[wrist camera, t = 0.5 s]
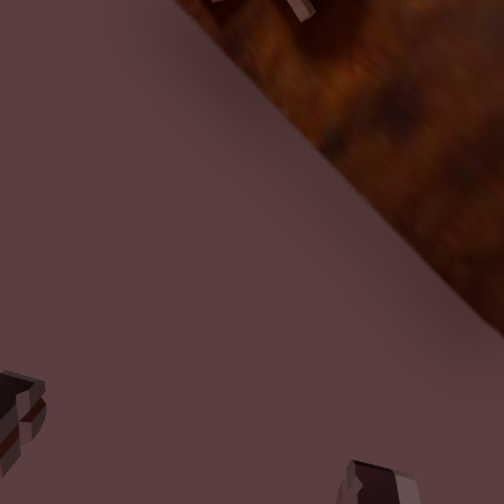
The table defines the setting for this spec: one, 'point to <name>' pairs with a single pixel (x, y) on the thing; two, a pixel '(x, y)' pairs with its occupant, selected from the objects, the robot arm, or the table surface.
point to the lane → (302, 9)
